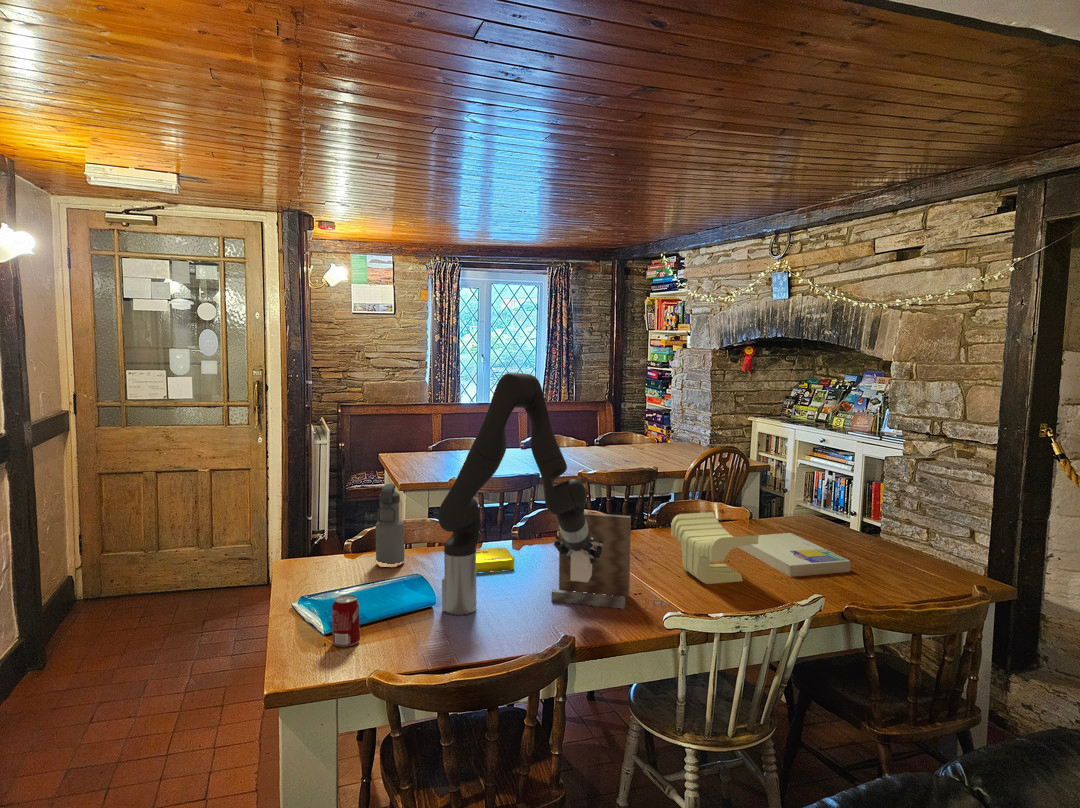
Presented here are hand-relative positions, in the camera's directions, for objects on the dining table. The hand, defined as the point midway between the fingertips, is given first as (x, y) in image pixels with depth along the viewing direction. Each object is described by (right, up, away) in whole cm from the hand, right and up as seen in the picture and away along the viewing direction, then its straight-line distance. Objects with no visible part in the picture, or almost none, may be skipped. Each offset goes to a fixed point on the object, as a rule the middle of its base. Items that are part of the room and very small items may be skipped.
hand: (582, 559), depth 195 cm
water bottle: (-65, -12, +44) cm, 79 cm away
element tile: (-30, -13, +44) cm, 55 cm away
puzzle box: (+79, -12, +53) cm, 96 cm away
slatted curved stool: (+45, -13, +34) cm, 58 cm away
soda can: (-62, -18, -18) cm, 67 cm away
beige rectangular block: (-1, -5, -1) cm, 5 cm away
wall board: (+3, -15, +13) cm, 20 cm away
